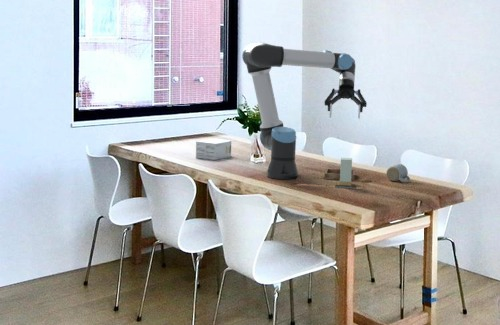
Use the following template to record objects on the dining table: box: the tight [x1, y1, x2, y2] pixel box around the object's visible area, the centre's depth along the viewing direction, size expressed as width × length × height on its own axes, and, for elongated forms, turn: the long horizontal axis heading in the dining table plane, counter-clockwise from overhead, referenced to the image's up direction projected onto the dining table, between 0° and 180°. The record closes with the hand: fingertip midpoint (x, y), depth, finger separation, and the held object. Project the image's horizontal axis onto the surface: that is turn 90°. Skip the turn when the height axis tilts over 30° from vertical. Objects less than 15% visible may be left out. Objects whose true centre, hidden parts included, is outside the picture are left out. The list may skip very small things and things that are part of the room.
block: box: [338, 157, 353, 186], centre depth 308 cm, size 5×5×12 cm
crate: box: [323, 168, 356, 181], centre depth 326 cm, size 14×14×4 cm
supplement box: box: [195, 138, 232, 161], centre depth 381 cm, size 17×13×9 cm
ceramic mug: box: [386, 163, 411, 184], centre depth 324 cm, size 11×8×8 cm
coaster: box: [334, 184, 356, 190], centre depth 309 cm, size 9×9×1 cm
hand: (344, 116), depth 326 cm, fingers open, 13 cm apart
